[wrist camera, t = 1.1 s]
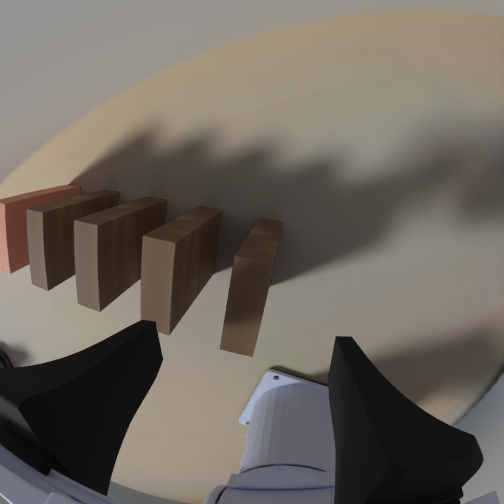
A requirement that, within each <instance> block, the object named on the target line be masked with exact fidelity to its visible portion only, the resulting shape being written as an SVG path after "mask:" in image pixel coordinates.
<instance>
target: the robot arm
mask: <svg viewBox="0 0 504 504" xmlns="http://www.w3.org/2000/svg"><path fill="white" fill-rule="evenodd" d="M162 361H163V357H162V352H161V347H160V342H159V337H158V332H157V326H156V321H149V320H141V321H139V322H137V323H135V324H133V325H131V326H129V327H127V328H125V329H123V330H121V331H120V332H118V333H116V334H114V335H112V336H110V337H109V338H107V339H105V340H103V341H101V342H99V343H97V344H95V345H93V346H91V347H88V348H86V349H84V350H82V351H80V352H77V353H75V354H72V355H69V356H67V357H64V358H61V359H57V360H53V361H50V362H46V363H42V364H37V365H32V366H26V367H18V368H1V369H0V422H1V423H0V495H1V496H2V497H3V498H4V499H6V500H7V501H8V502H9V503H10V504H124V503H122V502H119V501H116V500H114V499H111V498H109V497H107V492H108V488H109V484H110V480H111V475H112V472H113V469H114V465H115V462H116V459H117V456H118V453H119V450H120V447H121V445H122V442H123V439H124V437H125V434H126V432H127V429H128V427H129V425H130V423H131V421H132V419H133V417H134V415H135V413H136V412H137V410H138V408H139V406H140V405H141V403H142V401H143V400H144V398H145V396H146V395H147V393H148V391H149V389H150V388H151V386H152V384H153V382H154V381H155V379H156V377H157V374H158V372H159V369H160V367H161V364H162ZM275 376H279V377H275ZM328 386H329V387H327V386H324V385H321V384H317V383H314V382H311V381H307V380H304V379H301V378H298V377H295V376H292V375H289V374H286V373H283V372H280V371H277V370H274V369H268V370H267V371H266V372H265V374H264V376H263V377H262V379H261V381H260V383H259V385H258V386H257V388H256V390H255V392H254V393H253V395H252V397H251V399H250V400H249V402H248V404H247V406H246V407H245V409H244V411H243V412H242V414H241V416H240V418H239V422H240V423H241V424H243V425H246V426H249V428H248V432H247V437H246V441H245V446H244V450H243V455H242V459H241V464H240V468H239V472H238V474H230V477H229V481H228V484H227V485H219V486H217V487H216V488H214V489H213V491H212V492H210V493H209V494H208V495H207V497H206V498H205V500H204V502H203V504H460V500H459V499H460V498H462V497H463V491H462V486H463V485H464V484H465V483H466V482H467V481H468V480H469V479H470V478H471V477H472V476H473V475H474V474H475V473H476V472H477V471H478V470H479V468H480V467H481V465H482V463H483V460H484V459H483V455H482V452H481V450H480V447H479V445H478V443H477V440H476V438H475V436H474V435H471V434H468V433H466V432H464V431H461V430H459V429H457V428H454V427H452V426H450V425H448V424H446V423H444V422H442V421H440V420H439V419H437V418H435V417H433V416H432V415H430V414H428V413H427V412H425V411H424V410H423V409H421V408H420V407H418V406H417V405H415V404H414V403H413V402H411V401H410V400H409V399H408V398H406V397H405V396H404V395H403V394H402V393H400V392H399V391H398V390H397V389H396V388H395V387H394V386H393V385H392V384H391V383H390V382H389V381H388V380H387V379H386V378H385V377H384V376H383V375H382V374H381V373H380V372H379V371H378V369H377V368H376V367H375V366H374V365H373V364H372V362H371V361H370V360H369V359H368V357H367V356H366V355H365V354H364V352H363V351H362V350H361V348H360V347H359V346H358V344H357V343H356V342H355V340H354V339H353V338H352V337H343V336H336V339H335V344H334V350H333V355H332V360H331V365H330V370H329V375H328ZM465 504H500V503H499V499H498V496H497V493H496V491H493V492H491V493H488V494H486V495H484V496H481V497H479V498H476V499H474V500H471V501H469V502H467V503H465Z"/></svg>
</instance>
